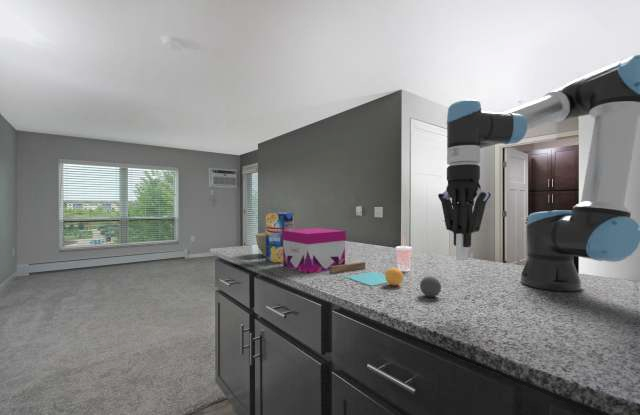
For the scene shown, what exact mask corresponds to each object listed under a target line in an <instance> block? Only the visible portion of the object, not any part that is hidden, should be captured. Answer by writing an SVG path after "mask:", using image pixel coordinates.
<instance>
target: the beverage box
mask: <svg viewBox="0 0 640 415" xmlns="http://www.w3.org/2000/svg"><path fill="white" fill-rule="evenodd" d="M294 218H295V217H294V212H265V233H266V256H265V261H266V262H269V261H273V262H272V263H277V262H281V263H280V264H283V240H282V231H283V230H295V224H294V223H295V222H294V221H295V219H294Z"/></svg>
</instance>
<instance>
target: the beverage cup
mask: <svg viewBox="0 0 640 415" xmlns="http://www.w3.org/2000/svg"><path fill="white" fill-rule="evenodd" d="M395 250H396V260H397V261H396V262H397V269H399V270H400V271H401V272H410V271H411V258H412V250H413V247H412V246H407V245H405V234H404V233H402V245H398V246H395Z"/></svg>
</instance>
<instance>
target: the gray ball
mask: <svg viewBox="0 0 640 415" xmlns="http://www.w3.org/2000/svg"><path fill="white" fill-rule="evenodd" d="M419 287H420V288H419V289H420V291H421V292H422V293H423V295H424V296H426V297H429V298H434V297H436V296H439V294H440V293H441V291H442V286H441V282H440V280H438V278H436V277H433V276H426V277H424V278H423V279H421V281H420V285H419Z"/></svg>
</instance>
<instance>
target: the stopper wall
mask: <svg viewBox="0 0 640 415" xmlns="http://www.w3.org/2000/svg"><path fill="white" fill-rule="evenodd" d="M365 269H366V262H365V261H362V262H361V261H360V262H351V263H347V264H346V263H345V265H337V266H330V270H329V273H330V274H331V275H332V274H340V273H347V272H352V271H353V272H354V271H359V270H365Z"/></svg>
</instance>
